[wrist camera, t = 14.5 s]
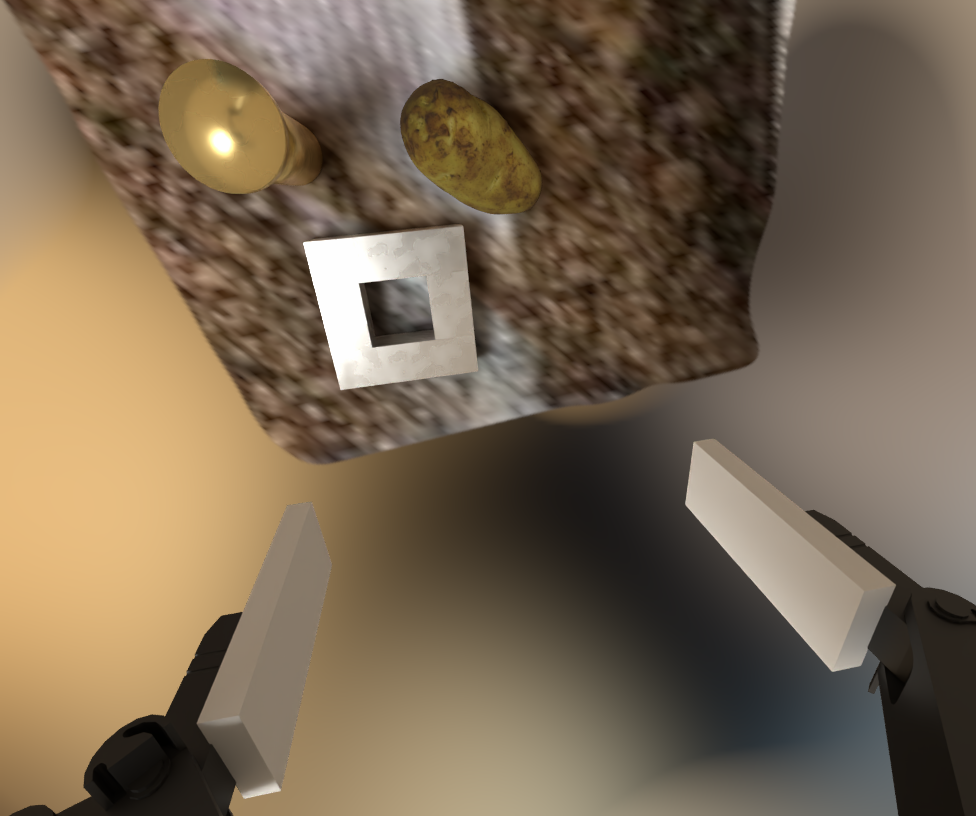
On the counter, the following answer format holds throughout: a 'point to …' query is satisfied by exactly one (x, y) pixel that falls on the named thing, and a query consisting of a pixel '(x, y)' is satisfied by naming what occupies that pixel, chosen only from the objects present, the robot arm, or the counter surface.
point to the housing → (387, 257)
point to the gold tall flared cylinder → (233, 130)
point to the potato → (469, 149)
